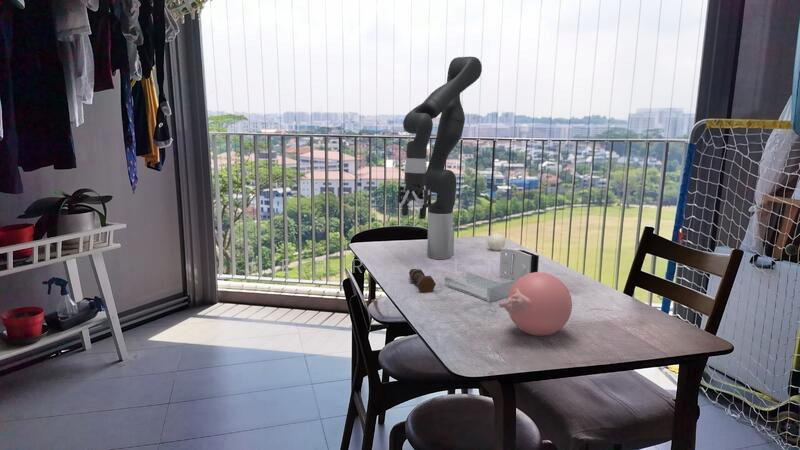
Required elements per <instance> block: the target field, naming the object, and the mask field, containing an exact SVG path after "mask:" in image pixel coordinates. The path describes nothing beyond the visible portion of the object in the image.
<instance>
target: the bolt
mask: <svg viewBox="0 0 800 450" xmlns="http://www.w3.org/2000/svg"><path fill="white" fill-rule="evenodd" d="M408 275H409V278H410V280H411V282H412V283H413V284H416V287H417V288H418V290H419V292H420V293H422V294H425V293H426V294H428V293H432V292H433V291H434V289H435V288H436V286H437V285H436V282H435V281H434V279H433V277H432V276H431V275H425V273H424V272H423V270H422V269H421V268H411V269H410V271H409V272H408Z"/></svg>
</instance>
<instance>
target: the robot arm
mask: <svg viewBox="0 0 800 450" xmlns="http://www.w3.org/2000/svg"><path fill="white" fill-rule="evenodd" d="M482 68H483V66H482V62H481V60H480V59H479V58H478V57H476V56H457V57H455V58H453V59H452V60H451V61H450V63H449V66H448V70H447V76H446V77H447V78H446V82H445V83H444V84H442V85H441V86H439V87H437V88H436V89H435V90H434V91H432V92H431V93H430V94H429V95H428V97H426V99H424V101H423V102H422V103H420V104H418V105H417V106H416V107H414V108H413V109H411V110H410V111H409V112H408V113H407V114H406V115H405V117H404V118H403V122H402V126H403V129H404V131H405V132H406V133H409V134H413V135H414V134H415V136H414V139H413V140H410V141H409V140H408V142H407V143H406V152H405V153H406V156H405V163H404V179H403V180H404V181H403V182H404V183H403V184H404V185H400V186H399V187H398V191H397V192H398V193H397V203H398V204H399V203H400V204H401V214H402V216H408V215H409V203H410V202H411V201H415V202H416V203H417V204H418V207H419V215H418V217H419V218H418V219H420V220H425V219H426V217H427V255H426V256H427V257H428V258H430V259H434V260H448V259H451V258H452V257H454V255H455V254H454V253H455V251H454V250H455V243H454V242H455V232H454V231H453V222H454V221H453V220H454V219H453V218H454V217H453V216H454V215H453V213H454V207H455V205H456V196H457V178H456V177H457V176H456V174H455V172H454V171H452V170H451V169H445V167H446V163H447V160H448V157H449V156H450V154H451V153H452V151H453V150H454V149H455V147H456V146H457V144H458V143H459V141H461V138H462V135H463V131H464V126H465V122H466V116H465V112H464V108H463V104H462V102H461V93H462V92H464V91H465V90H467V89H468V88H469V87H470V86H472V85H473V84H475V82H476V81H477V80H478V79H480V77H481V75H482V72H483V71H482V70H483V69H482ZM438 116H440V117H439V122H438V126H437V131H436V137H435V141H434V146H433V150H432V153H431V156H430V159H429V161H428V163H427V151H428V150H427V149H428V148H427V147H428V145H429V142H430V138H431V135H432V132H433V128H434V127H433V126H434V123H433V119H436V118H437V117H438ZM427 164H428V165H427ZM432 194H436V200H434V201H433V202H432ZM427 208H428V210H427Z"/></svg>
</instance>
